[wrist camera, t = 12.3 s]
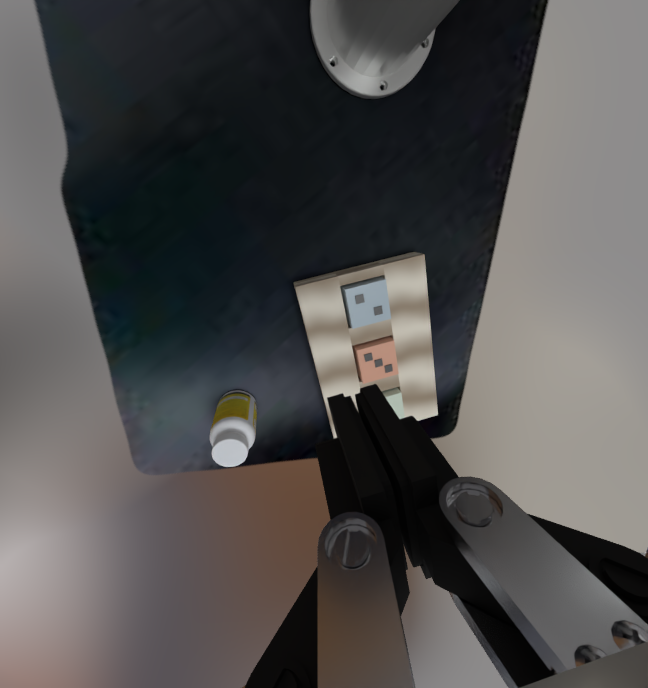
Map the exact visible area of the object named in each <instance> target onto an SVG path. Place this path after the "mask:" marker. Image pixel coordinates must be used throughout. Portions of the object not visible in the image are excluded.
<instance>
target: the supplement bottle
mask: <svg viewBox="0 0 648 688" xmlns="http://www.w3.org/2000/svg"><path fill="white" fill-rule="evenodd" d="M256 418H257V403H256V400H255V399H254V397H253V396H252V395H251V394H249V393H247V392H245V391H241V390H235V391H230V392H228V393H226V394H225V395H223V396H222V398H221V399H220V400H219V403H218V405H217V409H216V413H215V416H214V420H213V424H212V427H211V432H210V442H211V445H212V446H213V449H212V457H213V459H214V461H215V462H216V463H218V464H219V465H221V466H225V467H234V466H237V465H239V464H241V463H243V462H244V461H245V459H246V458H247V455H248V450H249V449H250V448H251V446H252V445H253V443H254V440H255V434H256Z"/></svg>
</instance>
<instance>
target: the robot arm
mask: <svg viewBox="0 0 648 688" xmlns="http://www.w3.org/2000/svg"><path fill="white" fill-rule="evenodd" d="M459 1H460V0H310V8H309V11H310V28H311V34H312V39H313V43H314V46H315V49H316V52H317V55H318V57H319V59H320V61H321V63H322V65H323V67H324V69H325V70H326V72H327V73H328V74H329V76H330V77H331V78H332V80H333V81H334V82H335V83H337V84H338V85H339V86H340V87H341V88H342V89H344V90H345V91H347V92H349V93H350V94H352V95H355V96H358V97H361V98H366V99H378V98H384V97H387V96H389V95H392V94H394V93H396V92H397V91H399V90H400V89H402V88H403V87H405V86H406V85H407V84H408V83H409V82H410V81H411V80H412V79H413V78H414V76H415V75H416V74H417V73H418V71H419V70H420V69H421V67H422V65H423V64H424V62H425V60H426V58H427V56H428V54H429V51H430V49H431V46H432V43H433V38H434V34H435V29H436V27H437V26H438V25H439V23H440V22H441V21H442V20H443V19H444V18H445V17H446V15H447V14H448V13H449V12H450V11H451V10H452V9H453V7H454V6H455V5H456V4H457V3H458V2H459ZM421 45H422V46H423V47H422V46H421ZM330 63H334V67H332V66H331V65H330ZM380 86H381V87H382V88H383V91H382V90H381V89H380ZM355 398H356V403H357V408H358V411H357V409H356V406H355V404H354V402H353V400H352V398H351V396H347V397H344V394H343V393H341V394H338V395H334V396H331V397H327V400H328V404H329V408H330V412H331V416H332V420H333V424H334V428H335V431H336V435H337V438H334V439H330V440H327V441H324V442H320V443H317V444H315V447H316V452H317V456H318V461H319V466H320V471H321V476H322V480H323V485H324V490H325V495H326V500H327V505H328V509H329V514H330V519H331V520H330V521H329V522H328V524H327V525H326V526H325V527H324V529H323V530H322V532H321V535H320V537H319V542H318V566H317V568H316V570H315V571H314V573H313V574H312V576H311V577H310V579H309V581H308V582H307V584H306V586H305V587H304V589H303V590H302V592H301V594H300V595H299V597H298V599H297V600H296V602H295V603H294V605H293V607H292V608H291V610H290V612H289V613H288V615H287V617H286V618H285V620H284V621H283V623H282V625H281V626H280V628H279V629H278V631H277V633H276V634H275V636H274V638H273V639H272V641H271V642H270V644H269V646H268V647H267V649H266V650H265V652H264V654H263V655H262V657H261V659H260V660H259V662H258V663H257V665H256V667H255V669H254V670H253V672H252V673H251V675H250V677H249V679H248V681H247V684H246V685H245V686H244V687H242V688H415V683H414V679H413V674H412V668H411V664H410V659H409V654H408V649H407V644H406V639H405V634H404V630H403V624H402V619H401V614H402V612H403V609H404V606H405V604H406V601H407V598H408V596H409V593H410V592H409V586H408V581H407V575H406V570H407V569H408V568H407V562H406V557H405V551H404V547H405V549H406V552H407V554H408V556H409V559H410V561H411V563H412V565H413V567H417V566H421V568H422V571H423V573H424V575H425V578H426V579H428V578H431V577H432V579H433V581H434V583H435V584H436V585H438V586H440V587H441V588H443V589H445V590H447V591H449V593H450V595H451V597H452V599H453V601H454V603H455V605H456V606H457V608H458V609H459V611H460V613H461V614H462V616H463V617H464V619H465V620H466V622H467V623H468V625H469V627H470V628H471V630H472V631H473V633H474V635H475V636H476V638H477V639H478V641H479V642H480V644H481V646H482V647H483V648H484V650H485V652H486V653H487V655H488V657H489V658H490V660H491V661H492V663H493V664H494V666H495V668H496V669H497V670H498V672H499V674H500V675H501V677H502V678H503V680H504V682H505V683H506V685H507V686H508V688H648V548H647V551H646V553H638V552H636V551H634V550H631V549H629V548H627V547H625V546H622V545H619V544H616V543H613V542H610V541H607V540H604V539H601V538H598V537H595V536H592V535H589V534H586V533H583V532H580V531H577V530H574V529H571V528H568V527H565V526H562V525H560V524H556V523H554V522H551V521H547V520H545V519H541V518H538V517H536V516H533V515H530V514H526V513H525V512H524V511H523V510H522V509H521V508H520V507H519V506H518V505H516V504H515V503H514V502H513V501H512V500H511V499H510V498H509V497H508V496H507V495H506V494H504V493H503V492H502V491H501V490H500V489H499V488H497V487H496V486H495V485H493V484H492V483H490V482H487V481H485V480H483V479H480V478H475V477H458V475H457V474H456V473H455V471H454V470H453V469H452V467H451V466H450V465H449V463H448V462H447V461H446V459H445V458H444V456H443V455H442V454H441V452H439V450H438V448H437V447H436V446H435V444H434V443H433V442H432V440H431V439H430V437H429V436H428V435H427V433H426V432H425V431H424V429H423V428H422V427H421V425H420V424H419V423H418V421H417V420H416V419H415V418H414V417H413V416H408V417H405V418H402V419H399V417H398V416H397V414H396V413H395V411H394V410H393V408H392V407H391V405H390V404H389V402H388V401H387V399H386V398H385V396H384V395H383V393H382V392H381V390H380V389H379V387H378V385H377V384H373V385H370V386H366V387H363V388H360V393H358V394H355ZM358 412H359V413H358ZM403 544H404V545H403Z"/></svg>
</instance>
